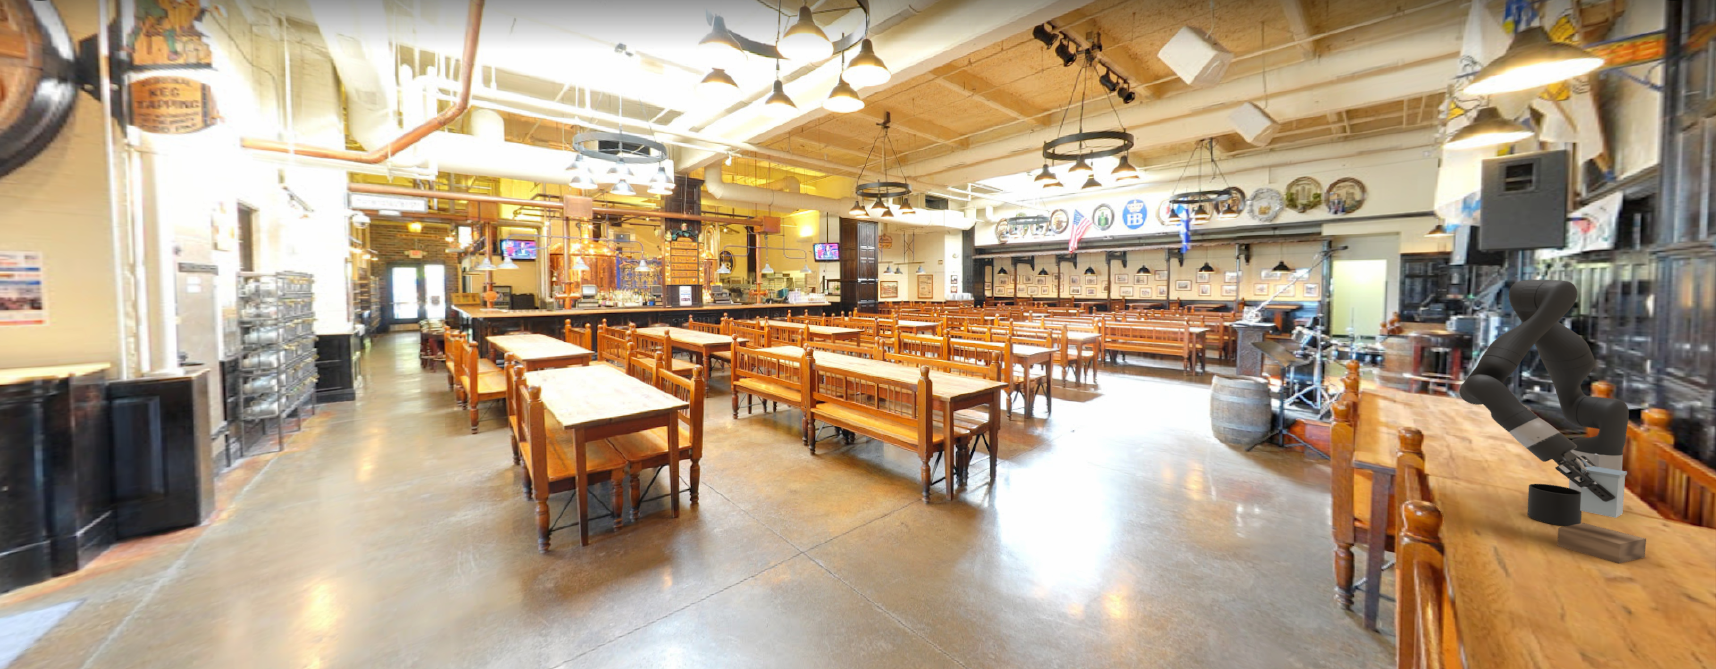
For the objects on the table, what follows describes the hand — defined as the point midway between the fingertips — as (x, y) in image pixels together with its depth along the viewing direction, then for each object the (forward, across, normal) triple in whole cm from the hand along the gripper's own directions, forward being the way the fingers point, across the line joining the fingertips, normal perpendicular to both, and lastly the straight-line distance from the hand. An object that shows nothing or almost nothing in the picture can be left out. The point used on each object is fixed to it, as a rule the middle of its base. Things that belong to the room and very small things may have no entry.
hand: (1614, 497), depth 136 cm
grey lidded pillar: (+2, 0, +4) cm, 5 cm away
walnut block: (+9, 0, +12) cm, 15 cm away
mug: (+1, +20, +20) cm, 28 cm away
